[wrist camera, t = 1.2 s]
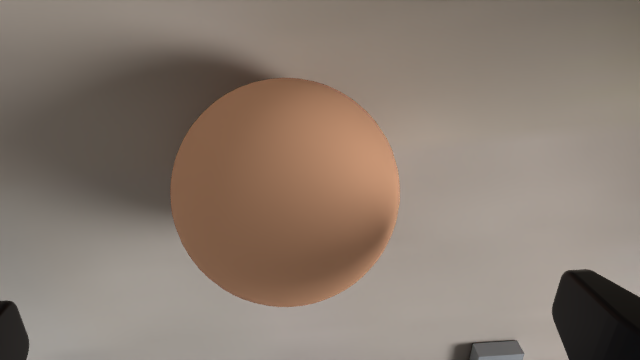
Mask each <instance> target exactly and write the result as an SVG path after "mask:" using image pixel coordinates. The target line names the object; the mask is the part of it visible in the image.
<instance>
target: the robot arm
mask: <svg viewBox="0 0 640 360" xmlns="http://www.w3.org/2000/svg"><path fill="white" fill-rule="evenodd" d="M552 315H553V319H554V322H555V325H556V327H557V330H558V333H559V335H560V338H561V340H562V343H563V345H564V348H565V350H566V353H567V355H568V358H569V360H640V297H638V296H637V295H635V294H633V293H631V292H629V291H628V290H626V289H624V288H622V287H620V286H619V285H617V284H615V283H613V282H612V281H610V280H608V279H606V278H604V277H603V276H601V275H599V274H597V273H595V272H594V271H591V270H587V269H583V270H568V271H566V272H564V274H563V275H562V277H561V280H560V283H559V286H558V289H557V293H556V296H555V299H554V303H553V307H552ZM28 351H29V339H28V335H27V332H26V330H25V327H24V324H23V322H22V319H21V316H20V314H19V311H18V308H17V306H16V305H15V304H14V302H12V301H0V360H26V359H27V355H28Z"/></svg>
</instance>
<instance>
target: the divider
mask: <svg viewBox="0 0 640 360" xmlns="http://www.w3.org/2000/svg"><path fill="white" fill-rule="evenodd" d="M523 357H524V352H523V350H522V349H521V347H520V345H519V343H518V341H503V342H488V343H473V346H472V350H471V355H470V360H523Z"/></svg>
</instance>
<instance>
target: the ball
mask: <svg viewBox="0 0 640 360" xmlns="http://www.w3.org/2000/svg"><path fill="white" fill-rule="evenodd" d="M170 195H171V208H172V215H173V219H174V223H175V226H176V229H177V232H178V234H179V237H180V239H181V242H182V244H183V246H184V248H185V249H186V251H187V253H188V254H189V256H190V257H191V259H192V260H193V261H194V263H195V264H196V265H197V266H198V268H199V269H200V270H201V271H202V272H203V273H204V274H205V275H206V276H207V277H208V278H209V279H211V280H212V281H213V282H215V283H216V284H217V285H219V286H220V287H221V288H223V289H224V290H226V291H228V292H229V293H231V294H233V295H235V296H237V297H240V298H242V299H244V300H248V301H251V302H254V303H258V304H263V305H268V306H276V307H294V306H303V305H308V304H313V303H316V302H319V301H323V300H325V299H327V298H330V297H332V296H335V295H337V294H339V293H340V292H342V291H344V290H346V289H347V288H349V287H350V286H352V285H353V284H355V283H356V282H357V281H358V280H359V279H360V278H362V277H363V276H364V275H365V274H366V273H367V272H368V271H369V269H370V268H371V267H372V266H373V265H374V264H375V263H376V262H377V260H378V259H379V257H380V256H381V254H382V253H383V251H384V249H385V247H386V245H387V243H388V241H389V239H390V237H391V235H392V232H393V229H394V227H395V224H396V219H397V214H398V208H399V200H400V185H399V176H398V169H397V166H396V162H395V158H394V155H393V152H392V149H391V147H390V145H389V143H388V141H387V138H386V137H385V135H384V134H383V132H382V131H381V129H380V128H379V126H378V125H377V123H376V122H375V120H374V119H373V118H372V117H371V116H370V115H369V114H368V112H367V111H365V110H364V109H363V108H362V107H361V106H360V105H358V104H357V103H356V102H355V101H354V100H352V99H351V98H349V97H348V96H346V95H345V94H343V93H342V92H340V91H338V90H336V89H333V88H331V87H329V86H327V85H324V84H320V83H317V82H314V81H309V80H303V79H296V78H276V79H267V80H262V81H257V82H253V83H250V84H247V85H244V86H241V87H239V88H237V89H235V90H233V91H231V92H229V93H227V94H225V95H224V96H223V97H221V98H220V99H218V100H217V101H215V102H214V103H213V104H212V105H211V106H210V107H208V108H207V109H206V110H205V111H204V112H203V113H202V114H201V115H200V116H199V118H198V119H197V120H196V121H195V122H194V123H193V125H192V126H191V128H190V129H189V131H188V132H187V134H186V136H185V137H184V139H183V141H182V144H181V146H180V148H179V151H178V153H177V155H176V158H175V162H174V166H173V171H172V177H171V187H170Z"/></svg>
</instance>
